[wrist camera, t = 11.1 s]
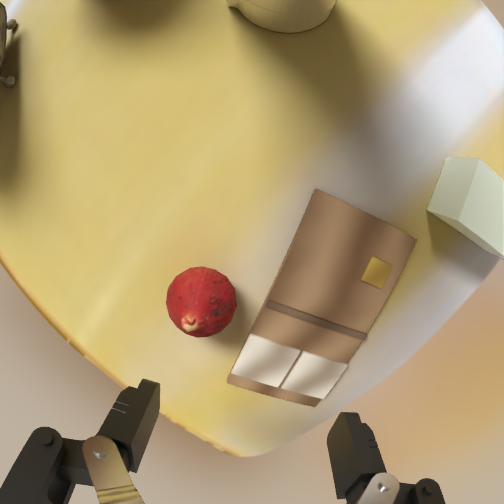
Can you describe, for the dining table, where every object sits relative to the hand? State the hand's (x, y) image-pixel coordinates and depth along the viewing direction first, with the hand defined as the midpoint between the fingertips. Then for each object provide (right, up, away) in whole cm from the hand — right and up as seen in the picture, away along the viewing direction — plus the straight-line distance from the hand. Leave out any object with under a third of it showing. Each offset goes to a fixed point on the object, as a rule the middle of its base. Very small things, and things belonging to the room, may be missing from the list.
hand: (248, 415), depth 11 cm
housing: (+23, +12, +13) cm, 29 cm away
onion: (-4, +4, +17) cm, 18 cm away
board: (+7, +1, +17) cm, 18 cm away
